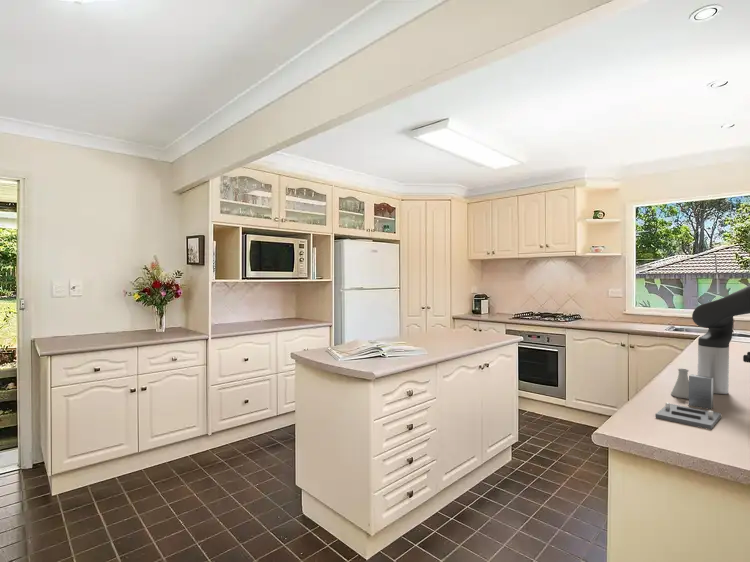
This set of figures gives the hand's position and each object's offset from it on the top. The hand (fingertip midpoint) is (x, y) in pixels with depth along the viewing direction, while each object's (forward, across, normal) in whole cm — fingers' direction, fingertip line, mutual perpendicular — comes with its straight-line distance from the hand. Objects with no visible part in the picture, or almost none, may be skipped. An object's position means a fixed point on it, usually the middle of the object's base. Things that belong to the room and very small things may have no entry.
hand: (745, 356), depth 134 cm
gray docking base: (+12, +17, +18) cm, 27 cm away
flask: (+18, -10, +18) cm, 28 cm away
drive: (+11, 0, +18) cm, 21 cm away
